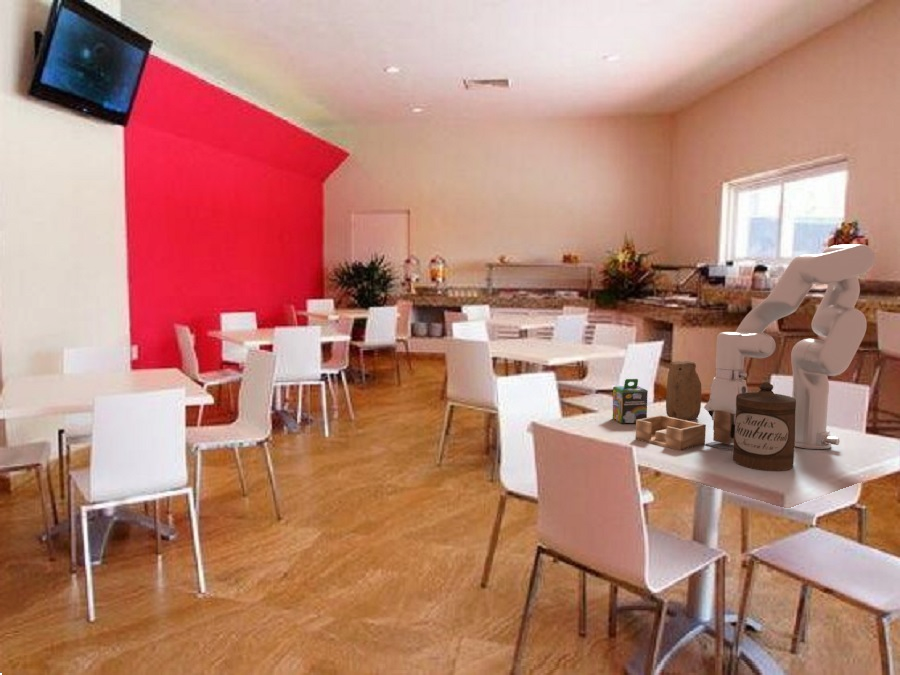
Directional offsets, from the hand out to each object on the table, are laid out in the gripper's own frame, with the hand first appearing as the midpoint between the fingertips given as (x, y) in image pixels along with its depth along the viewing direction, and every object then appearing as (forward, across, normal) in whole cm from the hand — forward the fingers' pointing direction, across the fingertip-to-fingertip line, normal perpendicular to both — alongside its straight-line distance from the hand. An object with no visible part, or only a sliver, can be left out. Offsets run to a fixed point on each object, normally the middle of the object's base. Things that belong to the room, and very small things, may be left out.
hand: (726, 434), depth 201 cm
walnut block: (+2, 0, 0) cm, 2 cm away
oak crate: (+3, +12, +10) cm, 16 cm away
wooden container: (+4, -16, +8) cm, 18 cm away
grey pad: (+3, 0, 0) cm, 3 cm away
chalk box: (+4, +38, -3) cm, 38 cm away
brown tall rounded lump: (+4, +30, -22) cm, 37 cm away
